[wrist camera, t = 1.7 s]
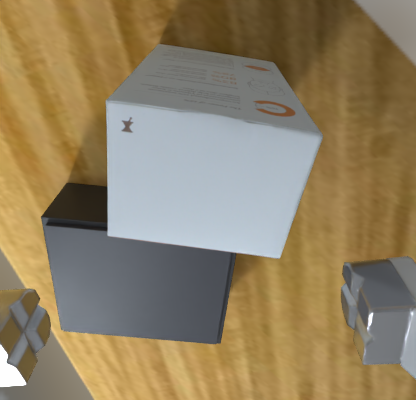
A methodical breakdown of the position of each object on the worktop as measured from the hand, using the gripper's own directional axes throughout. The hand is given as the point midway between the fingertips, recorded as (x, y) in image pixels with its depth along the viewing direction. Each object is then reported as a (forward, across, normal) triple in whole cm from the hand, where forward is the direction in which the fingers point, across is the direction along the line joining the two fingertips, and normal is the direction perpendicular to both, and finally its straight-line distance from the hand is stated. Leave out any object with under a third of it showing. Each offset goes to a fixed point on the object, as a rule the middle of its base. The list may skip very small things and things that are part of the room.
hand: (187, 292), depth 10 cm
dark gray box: (+19, +7, +13) cm, 24 cm away
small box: (+19, 0, 0) cm, 19 cm away
